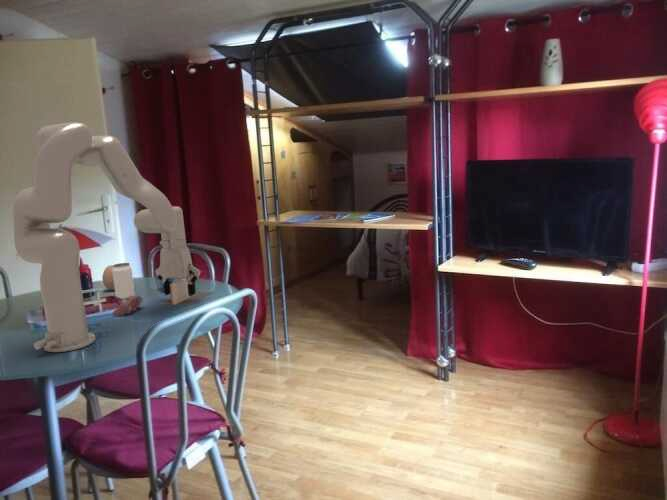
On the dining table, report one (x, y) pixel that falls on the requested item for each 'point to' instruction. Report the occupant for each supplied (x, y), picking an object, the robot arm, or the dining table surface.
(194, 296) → the mat
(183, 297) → the tile
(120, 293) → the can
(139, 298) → the red lumpy clump
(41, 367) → the dining table surface
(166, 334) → the dining table surface
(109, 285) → the egg
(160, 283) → the grapes
